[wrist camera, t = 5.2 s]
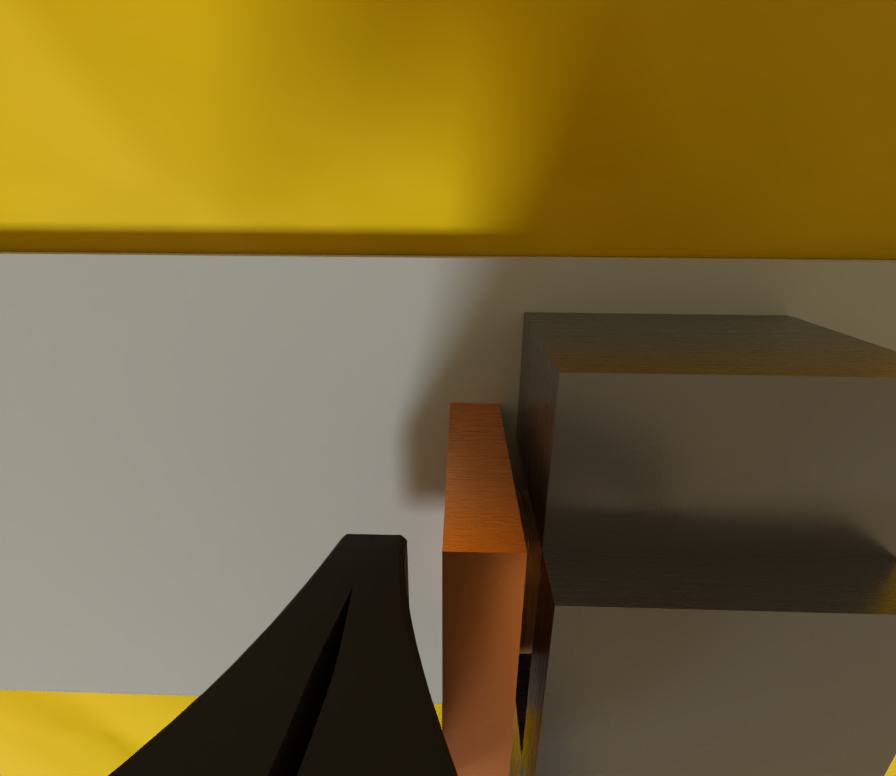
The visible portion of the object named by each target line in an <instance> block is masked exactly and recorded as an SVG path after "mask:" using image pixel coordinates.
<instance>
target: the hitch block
mask: <svg viewBox="0 0 896 776" xmlns="http://www.w3.org/2000/svg"><path fill="white" fill-rule="evenodd" d="M516 440H517V445H518V449H519V453H520V458H521V462H522V466H523V471H524V475H525V479H526V483H527V488H528V492H529V496H530V501H531V505H532V509H533V513H534V518H535V522H536V526H537V531H538V535H539V539H540V544H541V548H542V556H541V566H540V576H539V587H538V597H537V607H536V617H535V627H534V638H533V648H532V654H523V653H519V661H518V674H517V686H516V699H515V711H514V724H513V736H512V749H511V762H510V774H509V776H884V775H885V773H886V771H887V769H888V767H889V765H890V764H891V762H892V760H893V758H894V756H895V754H896V351H894V350H891V349H888V348H885V347H882V346H879V345H876V344H873V343H870V342H867V341H864V340H861V339H858V338H855V337H852V336H849V335H846V334H843V333H840V332H837V331H834V330H831V329H828V328H825V327H822V326H819V325H816V324H813V323H810V322H807V321H804V320H801V319H798V318H795V317H792V316H789V315H714V314H633V313H551V312H524V322H523V337H522V353H521V368H520V383H519V398H518V413H517V428H516Z"/></svg>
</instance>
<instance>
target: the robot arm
mask: <svg viewBox="0 0 896 776" xmlns="http://www.w3.org/2000/svg"><path fill="white" fill-rule="evenodd" d="M108 776H458V774H457V771H456V769H455V766H454V763H453V760H452V757H451V755H450V752H449V749H448V746H447V743H446V740H445V738H444V735H443V732H442V729H441V726H440V723H439V720H438V717H437V714H436V711H435V708H434V705H433V701H432V698H431V695H430V691H429V688H428V685H427V681H426V678H425V674H424V670H423V667H422V663H421V659H420V655H419V651H418V647H417V643H416V639H415V634H414V630H413V624H412V619H411V614H410V608H409V583H408V553H407V540H406V539H405V538H404V537H403V536H402V535H380V534H346V535H345V536H344V537H342V538H341V540H340V541H339V542H338V544H337V545H336V546H335V547H334V549H333V550H332V551H331V553H330V554H329V555H328V557H327V558H326V559H325V560H324V562H323V563H322V564H321V565H320V567H319V568H318V569H317V570H316V572H315V573H314V574H313V575H312V577H311V578H310V579H309V580H308V581H307V583H306V584H305V585H304V586H303V587H302V589H301V590H300V591H299V592H298V593H297V594H296V596H295V597H294V598H293V599H292V600H291V601H290V603H289V604H288V605H287V606H286V607H285V608H284V609H283V611H282V612H281V613H280V614H279V615H278V616H277V618H276V619H275V620H274V621H273V622H272V623H271V624H270V625H269V626H268V627H267V628H266V630H265V631H264V632H263V633H262V634H261V635H260V636H259V637H258V638H257V639H256V640H255V641H254V642H253V643H252V644H251V645H250V646H249V647H248V649H247V650H246V651H245V652H244V653H243V654H242V655H241V656H240V657H239V658H238V659H237V660H236V661H235V662H234V663H233V664H232V665H231V666H230V667H229V668H228V669H227V670H226V671H225V672H224V673H223V674H222V675H221V676H220V677H219V678H218V679H217V680H216V681H215V682H214V683H213V684H212V685H211V686H210V687H209V688H208V689H207V690H206V691H205V692H203V693H202V694H201V695H200V696H199V697H198V698H197V699H196V700H195V701H194V702H193V703H192V704H190V705H189V706H188V707H187V708H186V709H185V710H184V711H183V712H182V713H181V714H180V715H179V716H177V717H176V718H175V719H174V720H173V721H172V722H171V723H170V724H168V725H167V726H166V727H165V728H164V729H163V730H161V731H160V732H159V733H158V734H157V735H156V736H155V737H153V738H152V739H151V740H150V741H149V742H148V743H146V744H145V745H144V746H143V747H142V748H141V749H139V750H138V751H137V752H136V753H135V754H134V755H132V756H131V757H130V758H129V759H128V760H127V761H125V762H124V763H123V764H122V765H121V766H119V767H118V768H117V769H116V770H115V771H113V772H112V773H111V774H110V775H108Z"/></svg>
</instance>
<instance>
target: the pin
mask: <svg viewBox="0 0 896 776" xmlns="http://www.w3.org/2000/svg"><path fill="white" fill-rule="evenodd" d="M541 556H542V548H541V544H540V539H539V535H538V531H537V526H536V522H535V518H534V513H533V509H532V505H531V501H530V496H529V492H528V490H515V486H514V481H513V476H512V471H511V465H510V460H509V455H508V449H507V444H506V439H505V433H504V428H503V423H502V418H501V412H500V407H499V403H450V421H449V439H448V456H447V474H446V492H445V510H444V527H443V545H442V732H443V735H444V738H445V740H446V743H447V746H448V749H449V752H450V755H451V757H452V760H453V763H454V766H455V769H456V771H457V774H458V776H509V774H510V762H511V749H512V736H513V724H514V711H515V699H516V686H517V674H518V661H519V653H523V654H532V648H533V638H534V627H535V617H536V607H537V597H538V587H539V576H540V566H541Z"/></svg>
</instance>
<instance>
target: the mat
mask: <svg viewBox="0 0 896 776" xmlns="http://www.w3.org/2000/svg"><path fill="white" fill-rule="evenodd" d="M524 312H551V313H633V314H714V315H789V316H792V317H795V318H798V319H801V320H804V321H807V322H810V323H813V324H816V325H819V326H822V327H825V328H828V329H831V330H834V331H837V332H840V333H843V334H846V335H849V336H852V337H855V338H858V339H861V340H864V341H867V342H870V343H873V344H876V345H879V346H882V347H885V348H888V349H891V350H894V351H896V260H842V259H736V258H631V257H525V256H419V255H314V254H208V253H103V252H0V690H22V691H54V692H85V693H117V694H148V695H180V696H200V695H201V694H202V693H203V692H205V691H206V690H207V689H208V688H209V687H210V686H211V685H212V684H213V683H214V682H215V681H216V680H217V679H218V678H219V677H220V676H221V675H222V674H223V673H224V672H225V671H226V670H227V669H228V668H229V667H230V666H231V665H232V664H233V663H234V662H235V661H236V660H237V659H238V658H239V657H240V656H241V655H242V654H243V653H244V652H245V651H246V650H247V649H248V647H249V646H250V645H251V644H252V643H253V642H254V641H255V640H256V639H257V638H258V637H259V636H260V635H261V634H262V633H263V632H264V631H265V630H266V628H267V627H268V626H269V625H270V624H271V623H272V622H273V621H274V620H275V619H276V618H277V616H278V615H279V614H280V613H281V612H282V611H283V609H284V608H285V607H286V606H287V605H288V604H289V603H290V601H291V600H292V599H293V598H294V597H295V596H296V594H297V593H298V592H299V591H300V590H301V589H302V587H303V586H304V585H305V584H306V583H307V581H308V580H309V579H310V578H311V577H312V575H313V574H314V573H315V572H316V570H317V569H318V568H319V567H320V565H321V564H322V563H323V562H324V560H325V559H326V558H327V557H328V555H329V554H330V553H331V551H332V550H333V549H334V547H335V546H336V545H337V544H338V542H339V541H340V540H341V538H342V537H344V536H345V535H346V534H380V535H402V536H403V537H404V538H405V539H406V540H407V553H408V583H409V608H410V614H411V619H412V624H413V630H414V634H415V639H416V643H417V647H418V651H419V655H420V659H421V663H422V667H423V670H424V674H425V678H426V681H427V685H428V688H429V691H430V695H431V698H432V701H433V704H442V545H443V527H444V510H445V492H446V474H447V456H448V439H449V421H450V403H499V407H500V412H501V418H502V423H503V428H504V433H505V439H506V444H507V449H508V455H509V460H510V465H511V471H512V476H513V481H514V486H515V490H528V488H527V483H526V479H525V475H524V471H523V466H522V462H521V458H520V453H519V449H518V445H517V440H516V428H517V413H518V398H519V383H520V368H521V353H522V337H523V322H524Z"/></svg>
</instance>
